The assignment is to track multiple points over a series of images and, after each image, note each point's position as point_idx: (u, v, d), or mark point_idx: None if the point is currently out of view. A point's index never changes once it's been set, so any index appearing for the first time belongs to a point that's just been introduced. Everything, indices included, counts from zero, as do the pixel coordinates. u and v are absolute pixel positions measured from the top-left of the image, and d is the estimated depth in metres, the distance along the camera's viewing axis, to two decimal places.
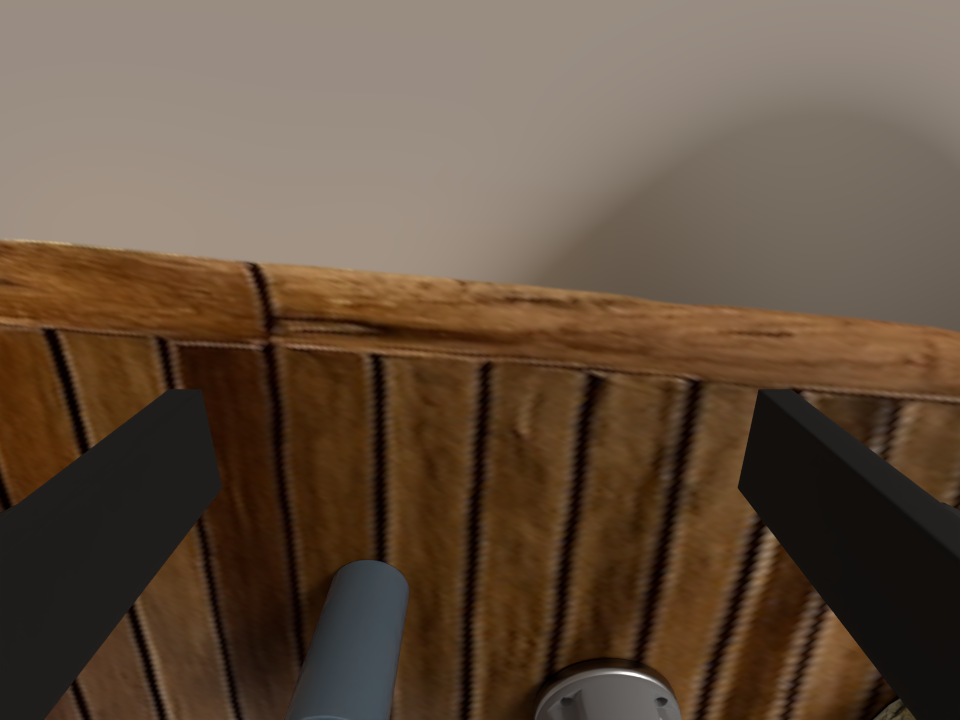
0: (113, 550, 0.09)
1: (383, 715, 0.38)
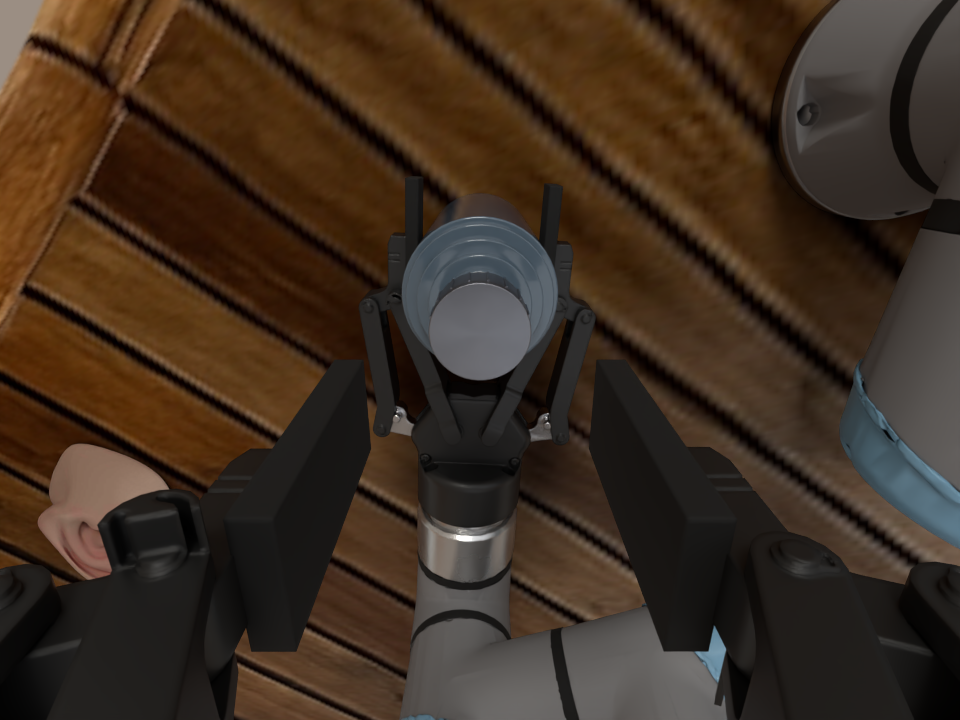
0: (332, 487, 0.11)
1: (501, 215, 0.26)
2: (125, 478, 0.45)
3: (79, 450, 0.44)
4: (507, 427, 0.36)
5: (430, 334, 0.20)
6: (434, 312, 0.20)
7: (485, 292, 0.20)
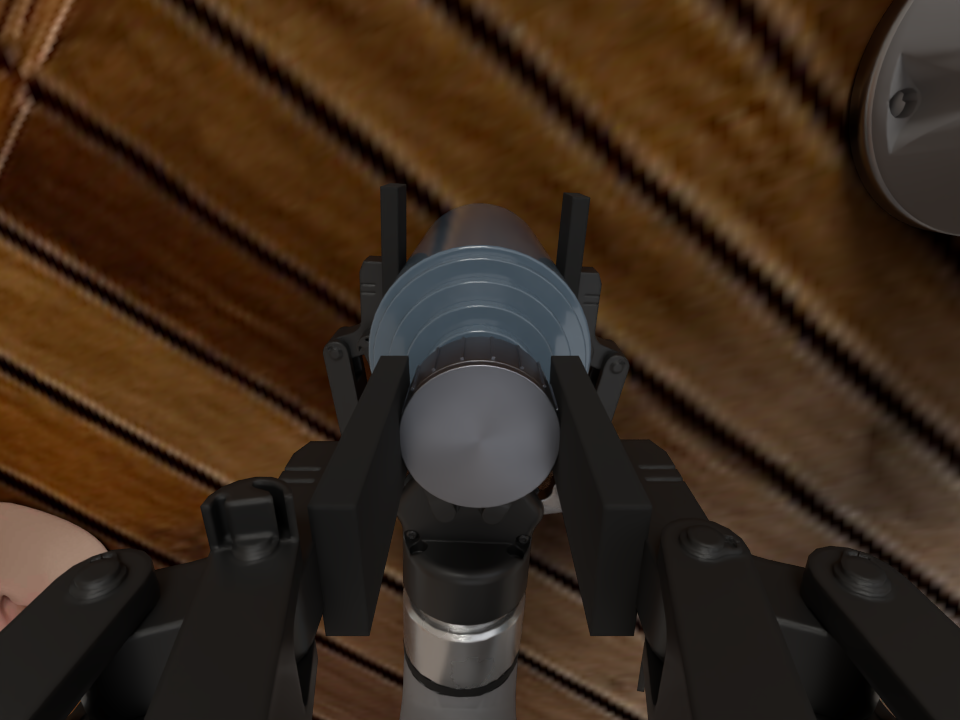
0: (390, 478, 0.11)
1: (510, 241, 0.18)
2: (54, 543, 0.37)
3: None
4: None
5: (400, 442, 0.13)
6: (406, 409, 0.12)
7: (488, 379, 0.12)
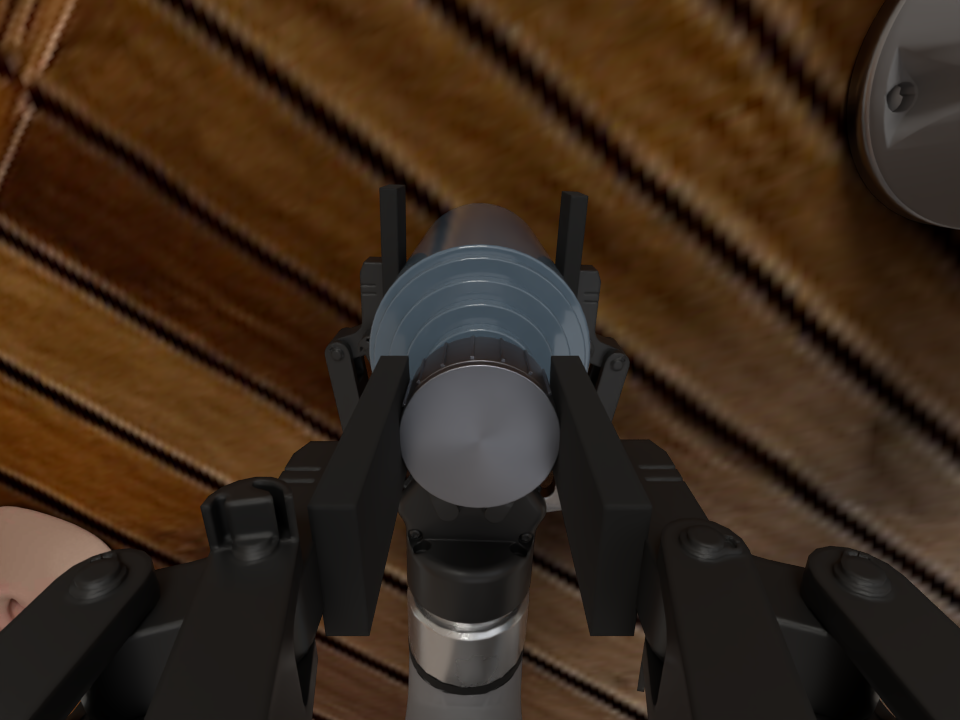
0: (390, 478, 0.11)
1: (508, 240, 0.18)
2: (60, 546, 0.38)
3: (5, 514, 0.37)
4: None
5: (518, 497, 0.13)
6: (484, 507, 0.13)
7: (418, 463, 0.13)
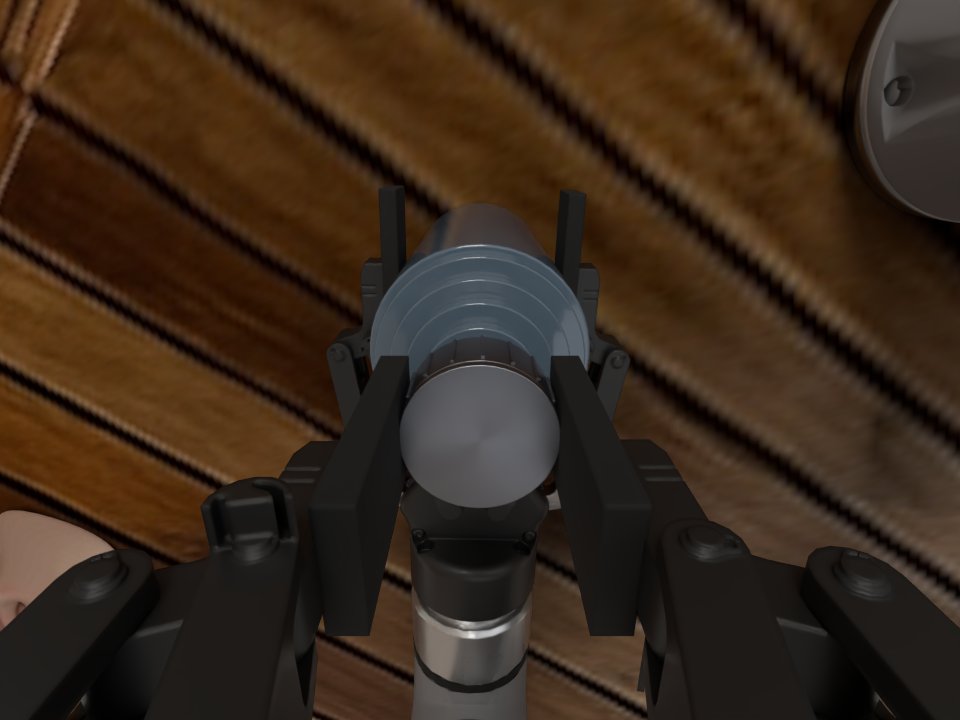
0: (390, 478, 0.11)
1: (507, 239, 0.18)
2: (67, 550, 0.38)
3: (11, 518, 0.38)
4: None
5: (519, 377, 0.12)
6: (548, 402, 0.12)
7: (532, 475, 0.13)
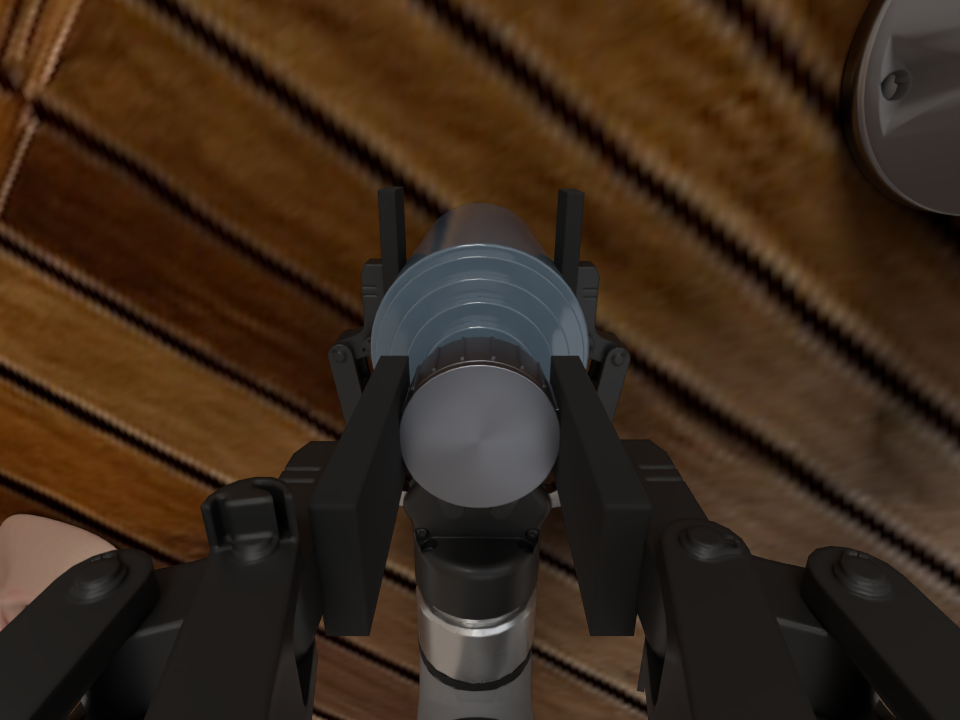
0: (390, 478, 0.11)
1: (505, 238, 0.18)
2: (74, 553, 0.38)
3: (18, 522, 0.38)
4: None
5: (400, 441, 0.13)
6: (406, 409, 0.12)
7: (488, 379, 0.12)
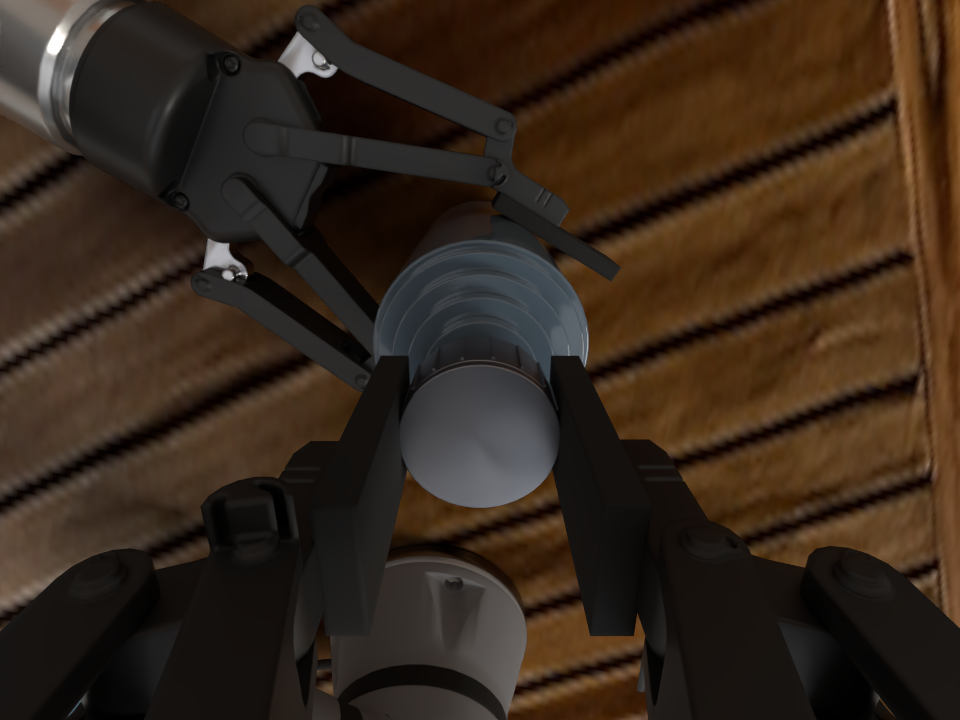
0: (390, 478, 0.11)
1: None
2: None
3: None
4: (244, 220, 0.24)
5: (401, 441, 0.13)
6: (406, 409, 0.12)
7: (488, 379, 0.12)
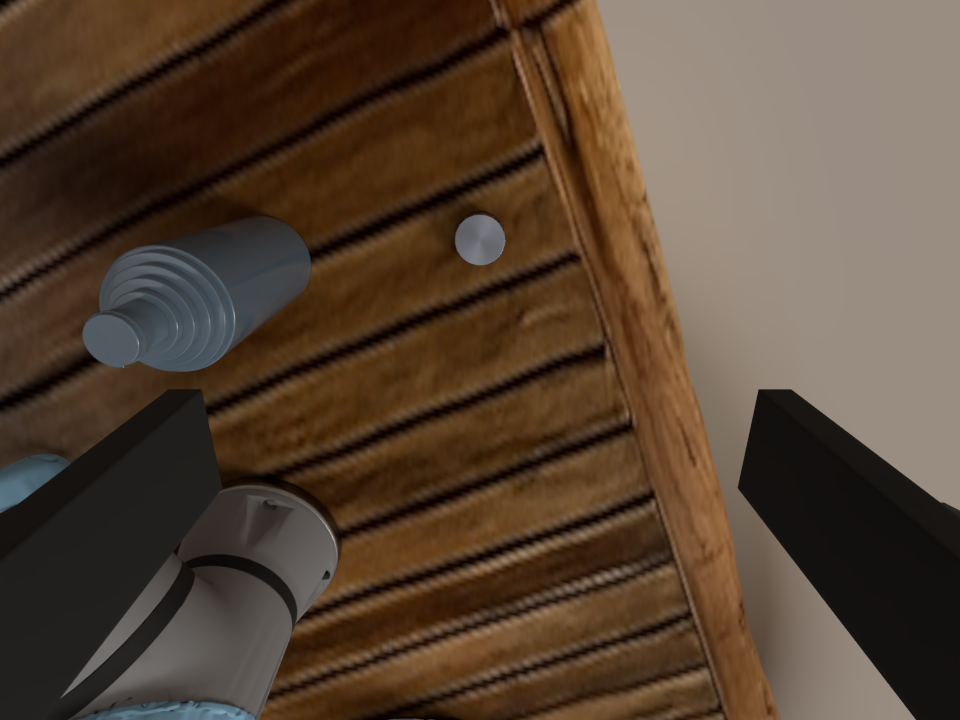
0: (113, 549, 0.09)
1: (237, 344, 0.33)
2: None
3: None
4: None
5: (455, 240, 0.41)
6: (458, 229, 0.41)
7: (482, 219, 0.41)
